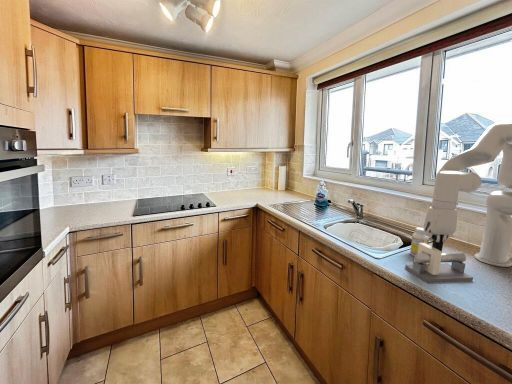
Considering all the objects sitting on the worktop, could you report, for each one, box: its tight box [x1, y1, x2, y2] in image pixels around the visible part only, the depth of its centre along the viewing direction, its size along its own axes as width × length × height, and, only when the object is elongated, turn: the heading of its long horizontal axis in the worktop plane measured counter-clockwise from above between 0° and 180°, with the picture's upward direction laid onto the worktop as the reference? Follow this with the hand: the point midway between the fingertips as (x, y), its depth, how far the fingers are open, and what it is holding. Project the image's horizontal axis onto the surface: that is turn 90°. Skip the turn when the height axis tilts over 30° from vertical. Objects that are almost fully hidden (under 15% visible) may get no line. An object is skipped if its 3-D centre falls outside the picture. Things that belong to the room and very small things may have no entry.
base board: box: [404, 262, 474, 284], centre depth 106 cm, size 19×12×2 cm, turn 97°
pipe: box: [412, 252, 467, 274], centre depth 105 cm, size 19×4×7 cm, turn 97°
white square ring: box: [417, 243, 443, 275], centre depth 104 cm, size 2×9×9 cm, turn 7°
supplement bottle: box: [410, 226, 430, 257], centre depth 123 cm, size 7×7×13 cm
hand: (436, 250), depth 104 cm, fingers closed
